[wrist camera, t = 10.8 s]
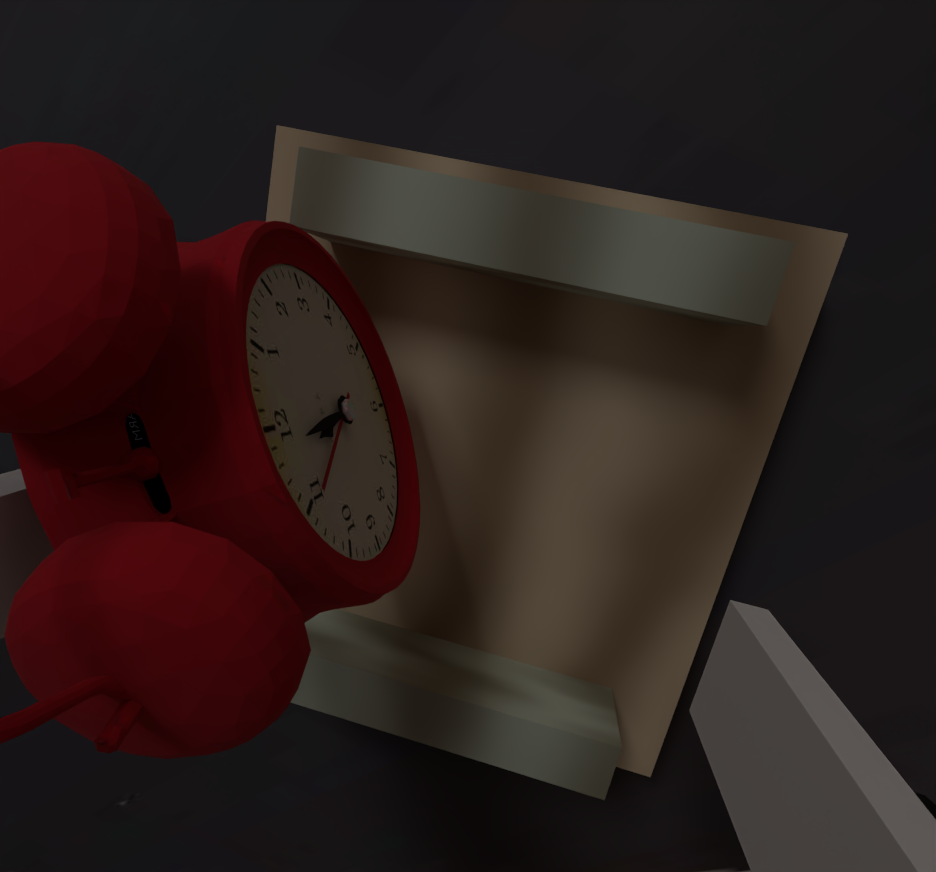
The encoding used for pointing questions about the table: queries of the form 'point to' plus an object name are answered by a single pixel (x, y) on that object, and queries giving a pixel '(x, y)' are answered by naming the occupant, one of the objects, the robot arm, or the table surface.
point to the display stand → (551, 443)
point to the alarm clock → (185, 458)
